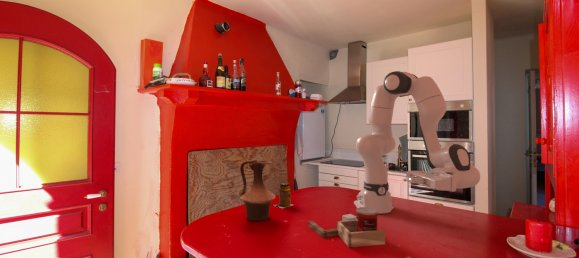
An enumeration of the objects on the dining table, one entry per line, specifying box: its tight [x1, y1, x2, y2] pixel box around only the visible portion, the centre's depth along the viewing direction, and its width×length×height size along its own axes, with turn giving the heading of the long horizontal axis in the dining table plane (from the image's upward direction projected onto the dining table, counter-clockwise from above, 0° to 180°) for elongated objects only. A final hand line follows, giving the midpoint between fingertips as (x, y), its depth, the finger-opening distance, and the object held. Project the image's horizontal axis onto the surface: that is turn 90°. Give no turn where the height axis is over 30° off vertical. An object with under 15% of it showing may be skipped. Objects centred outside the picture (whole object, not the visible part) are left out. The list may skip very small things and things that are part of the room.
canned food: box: [355, 207, 378, 232], centre depth 108 cm, size 8×8×11 cm
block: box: [341, 213, 356, 221], centre depth 121 cm, size 4×4×4 cm
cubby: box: [336, 220, 386, 248], centre depth 108 cm, size 13×14×5 cm
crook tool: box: [307, 220, 339, 239], centre depth 117 cm, size 14×7×2 cm, turn 20°
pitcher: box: [238, 159, 276, 222], centre depth 133 cm, size 18×17×28 cm
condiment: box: [273, 182, 294, 209], centre depth 152 cm, size 7×8×12 cm
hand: (408, 180), depth 111 cm, fingers closed
